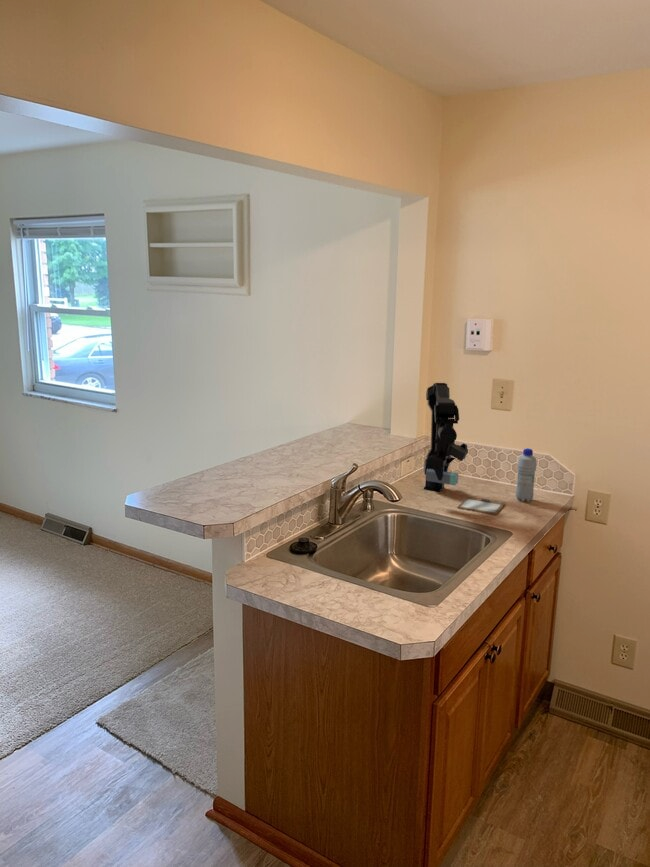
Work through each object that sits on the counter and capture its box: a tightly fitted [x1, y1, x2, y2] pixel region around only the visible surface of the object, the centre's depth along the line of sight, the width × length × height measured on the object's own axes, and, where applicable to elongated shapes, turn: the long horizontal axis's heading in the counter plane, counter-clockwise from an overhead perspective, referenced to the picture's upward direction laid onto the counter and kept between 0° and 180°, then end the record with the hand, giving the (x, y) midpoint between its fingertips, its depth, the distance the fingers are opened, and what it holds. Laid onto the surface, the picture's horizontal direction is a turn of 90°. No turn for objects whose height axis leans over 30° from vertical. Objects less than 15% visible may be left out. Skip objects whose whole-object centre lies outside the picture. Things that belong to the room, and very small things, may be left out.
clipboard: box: [457, 496, 506, 516], centre depth 243 cm, size 14×12×1 cm
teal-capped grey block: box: [425, 469, 460, 486], centre depth 239 cm, size 11×4×4 cm, turn 61°
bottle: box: [515, 448, 537, 503], centre depth 247 cm, size 7×7×20 cm
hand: (441, 478), depth 240 cm, fingers closed on teal-capped grey block, 3 cm apart
